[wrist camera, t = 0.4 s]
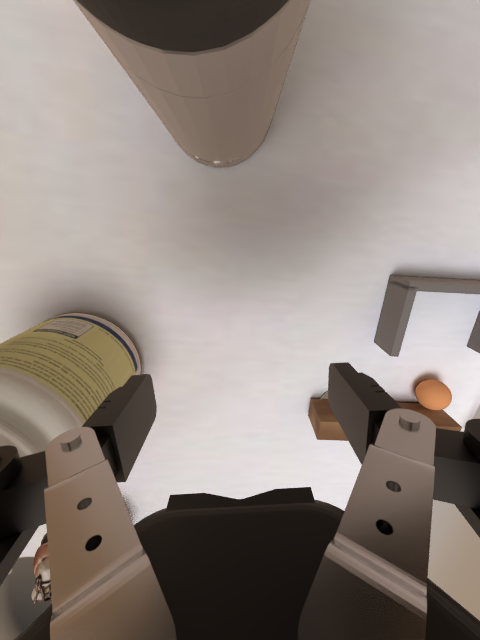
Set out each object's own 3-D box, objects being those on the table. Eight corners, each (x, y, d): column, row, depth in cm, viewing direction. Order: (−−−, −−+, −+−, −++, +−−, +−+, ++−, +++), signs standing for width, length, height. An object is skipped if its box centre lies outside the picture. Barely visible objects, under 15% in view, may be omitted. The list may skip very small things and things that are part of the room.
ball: (413, 373, 32) (432, 389, 29) (441, 374, 32) (464, 391, 29) (405, 397, 33) (424, 416, 30) (432, 398, 33) (453, 417, 30)
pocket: (389, 275, 28) (410, 282, 25) (498, 281, 28) (532, 288, 25) (373, 342, 31) (390, 356, 27) (473, 346, 31) (501, 361, 28)
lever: (311, 399, 33) (322, 425, 28) (436, 404, 33) (466, 431, 29) (308, 415, 33) (318, 443, 29) (430, 420, 34) (458, 448, 29)
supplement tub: (30, 302, 29) (-229, 399, 13) (145, 316, 29) (36, 426, 13) (42, 398, 33) (-144, 563, 17) (143, 409, 33) (58, 578, 17)
